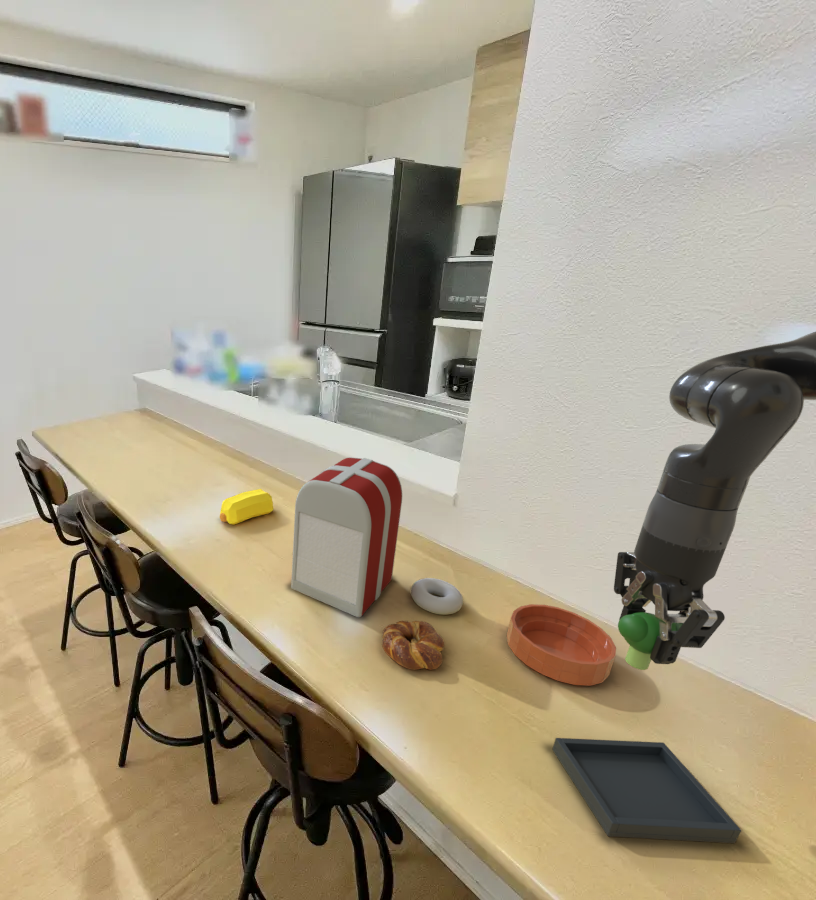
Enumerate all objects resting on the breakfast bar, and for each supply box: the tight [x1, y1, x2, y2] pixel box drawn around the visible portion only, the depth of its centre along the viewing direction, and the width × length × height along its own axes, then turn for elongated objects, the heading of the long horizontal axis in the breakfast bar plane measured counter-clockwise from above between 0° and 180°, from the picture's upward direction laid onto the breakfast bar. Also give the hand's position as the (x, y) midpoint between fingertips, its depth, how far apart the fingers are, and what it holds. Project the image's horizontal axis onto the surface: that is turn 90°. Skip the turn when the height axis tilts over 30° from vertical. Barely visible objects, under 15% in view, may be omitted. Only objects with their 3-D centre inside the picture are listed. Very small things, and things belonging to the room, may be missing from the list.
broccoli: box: [617, 612, 676, 671], centre depth 64 cm, size 7×5×8 cm
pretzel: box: [381, 620, 445, 671], centre depth 89 cm, size 12×11×4 cm
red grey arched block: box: [290, 456, 403, 618], centre depth 104 cm, size 16×18×27 cm
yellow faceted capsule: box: [219, 488, 274, 526], centre depth 138 cm, size 18×7×8 cm
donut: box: [410, 577, 464, 616], centre depth 101 cm, size 10×4×10 cm
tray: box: [552, 737, 742, 844], centre depth 64 cm, size 15×12×2 cm
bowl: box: [506, 603, 617, 687], centre depth 87 cm, size 15×15×5 cm
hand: (643, 645), depth 65 cm, fingers closed on broccoli, 5 cm apart
